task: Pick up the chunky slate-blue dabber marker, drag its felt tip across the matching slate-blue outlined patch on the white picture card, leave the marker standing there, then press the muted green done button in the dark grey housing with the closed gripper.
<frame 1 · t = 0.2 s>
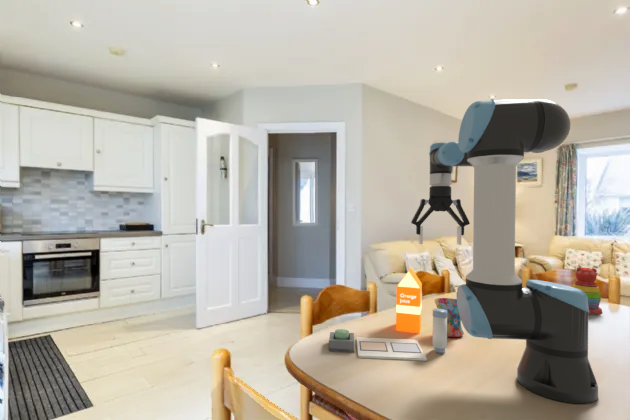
hand: (439, 244, 131), 28 cm above the table, fingers open, 13 cm apart
sheet: (389, 349, 102), on the table
done button: (341, 334, 103), point 4 cm above the table, slide at 0.0 cm
stacking bear: (585, 312, 144), on the table
orange juice: (409, 328, 121), on the table
button housing: (341, 347, 103), on the table
marker: (439, 351, 101), on the table
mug: (452, 334, 116), on the table
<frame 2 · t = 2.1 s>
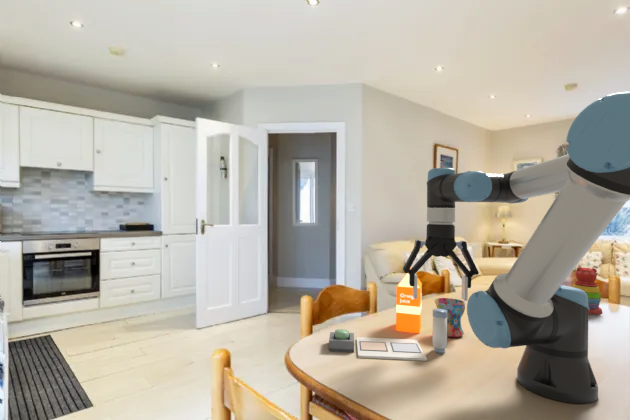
hand: (439, 298, 101), 15 cm above the table, fingers open, 13 cm apart
nothing on the table moved.
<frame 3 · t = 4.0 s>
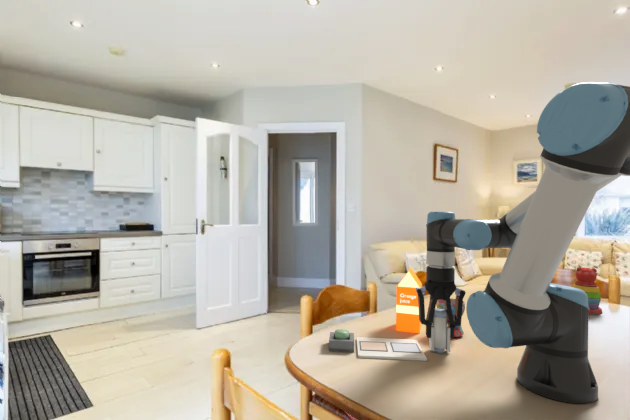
hand: (439, 349, 101), 1 cm above the table, fingers closed on marker, 4 cm apart
marker: (439, 351, 101), on the table, touching gripper
everything else where it was.
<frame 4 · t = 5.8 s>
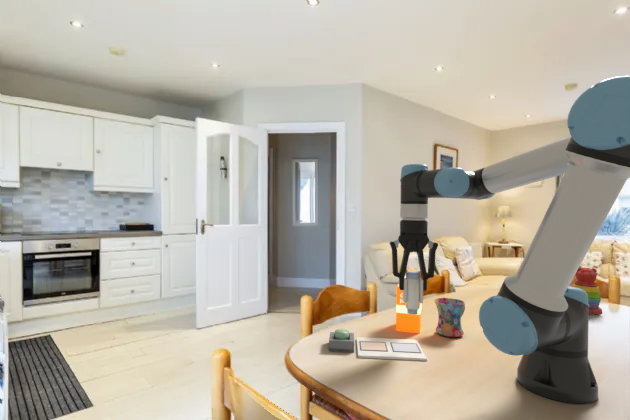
hand: (412, 301, 102), 14 cm above the table, fingers closed on marker, 4 cm apart
marker: (412, 313, 102), point 10 cm above the table, touching gripper
everything else where it was.
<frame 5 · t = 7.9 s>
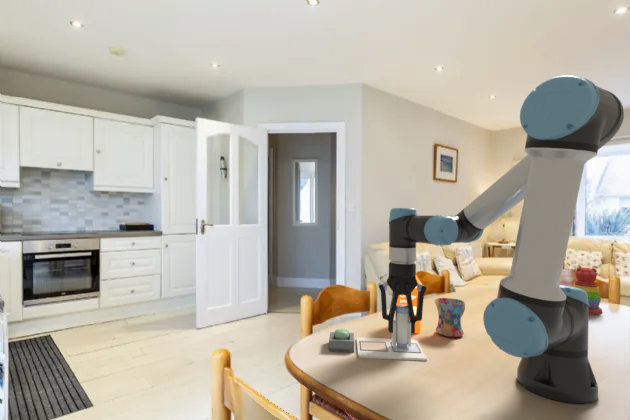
hand: (401, 344, 102), 1 cm above the table, fingers closed on marker, 3 cm apart
marker: (401, 346, 102), point 1 cm above the table, touching gripper
everything else where it was.
when the fingers open (1 cm above the table, at t = 8.3 s): marker stays where it is, resting on sheet.
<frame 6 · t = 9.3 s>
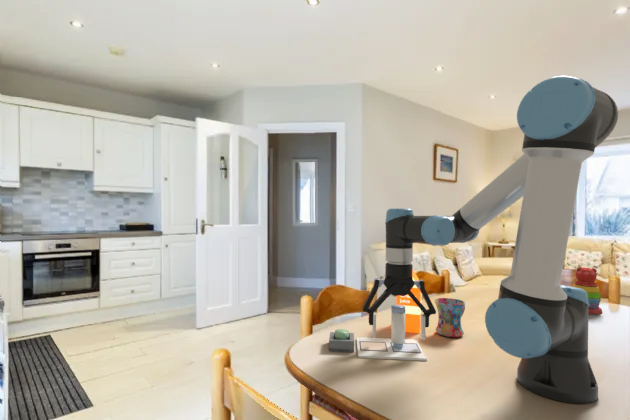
hand: (398, 337, 102), 3 cm above the table, fingers open, 13 cm apart
marker: (398, 346, 102), point 1 cm above the table, touching sheet
everything else where it was.
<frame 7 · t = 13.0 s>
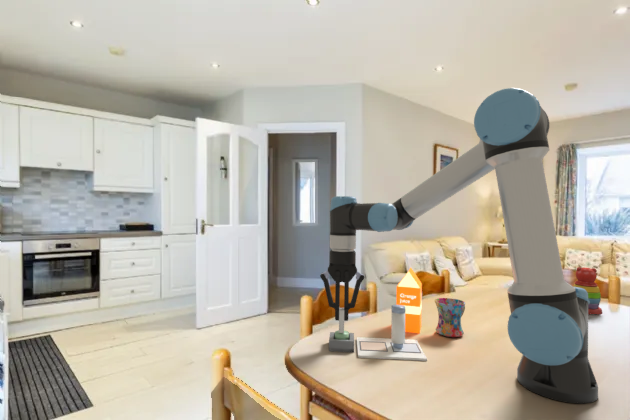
hand: (341, 331, 103), 4 cm above the table, fingers closed
done button: (341, 335, 103), point 3 cm above the table, slide at 0.3 cm, touching gripper
everything else where it was.
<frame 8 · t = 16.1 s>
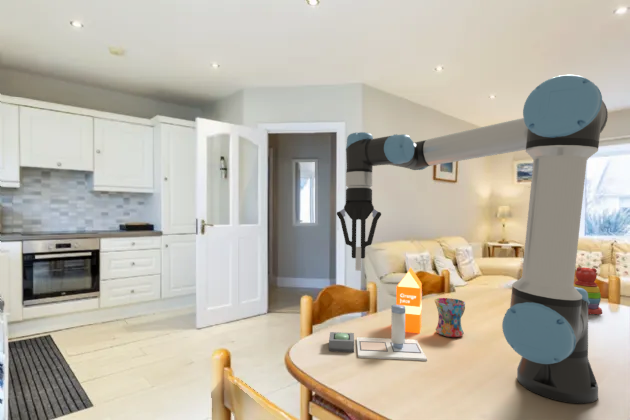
hand: (358, 269, 103), 22 cm above the table, fingers closed
done button: (341, 338, 103), point 2 cm above the table, slide at 1.1 cm
everything else where it was.
at the end: marker inside the target area on the sheet (2.0 cm from its centre), point 0.7 cm above the sheet's base; done button slide at 1.1 cm; the gripper is holding nothing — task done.
